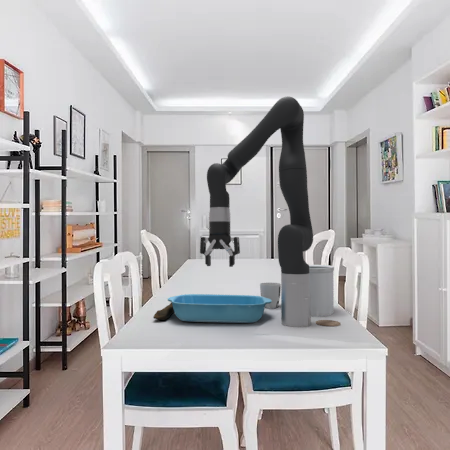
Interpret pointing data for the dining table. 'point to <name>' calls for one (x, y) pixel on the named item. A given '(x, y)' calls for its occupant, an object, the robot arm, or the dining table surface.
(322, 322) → the cork coaster
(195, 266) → the dining table surface
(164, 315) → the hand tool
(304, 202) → the robot arm
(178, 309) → the casserole dish
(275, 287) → the cup
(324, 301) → the utensil holder
